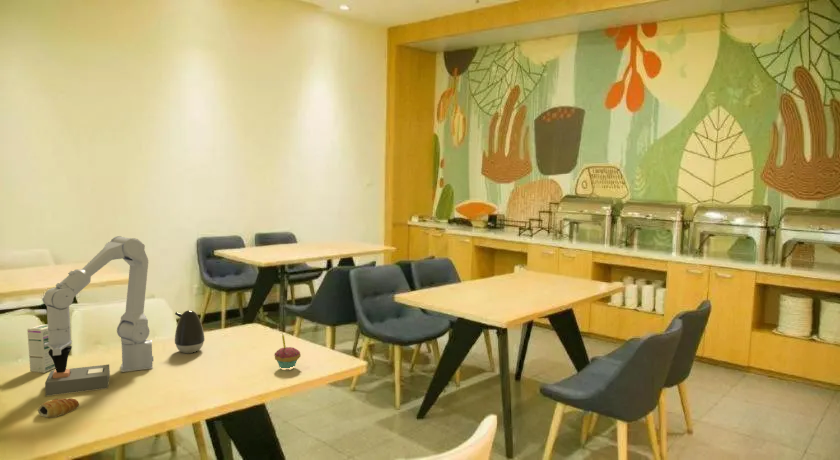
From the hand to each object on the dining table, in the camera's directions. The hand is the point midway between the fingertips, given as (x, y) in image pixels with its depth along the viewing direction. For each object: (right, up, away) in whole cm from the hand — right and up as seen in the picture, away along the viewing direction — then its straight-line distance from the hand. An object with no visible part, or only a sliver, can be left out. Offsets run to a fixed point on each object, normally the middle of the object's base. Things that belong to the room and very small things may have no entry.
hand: (61, 371), depth 177 cm
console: (+4, -5, +2) cm, 7 cm away
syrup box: (-16, -3, +16) cm, 23 cm away
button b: (0, -3, 0) cm, 3 cm away
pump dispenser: (+24, -2, +38) cm, 45 cm away
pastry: (+9, -7, -17) cm, 20 cm away
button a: (+8, -4, +4) cm, 10 cm away
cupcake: (+64, -4, +21) cm, 67 cm away
